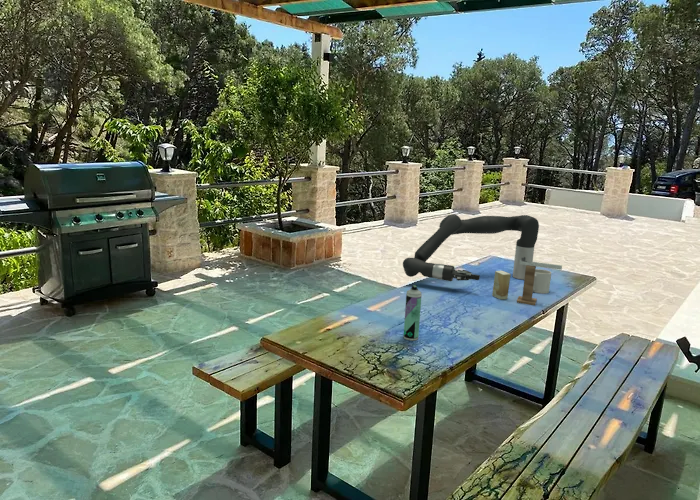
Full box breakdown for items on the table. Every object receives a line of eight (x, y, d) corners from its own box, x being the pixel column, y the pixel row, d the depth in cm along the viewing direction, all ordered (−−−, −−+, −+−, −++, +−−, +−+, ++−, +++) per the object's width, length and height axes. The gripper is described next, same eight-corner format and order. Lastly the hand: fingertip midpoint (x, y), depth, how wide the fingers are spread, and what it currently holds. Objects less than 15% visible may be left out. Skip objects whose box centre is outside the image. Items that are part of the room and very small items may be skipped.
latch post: (518, 297, 254) (522, 262, 250) (536, 300, 251) (541, 265, 247) (516, 302, 247) (520, 266, 243) (534, 305, 244) (539, 268, 240)
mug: (546, 289, 271) (548, 269, 268) (551, 294, 261) (553, 274, 259) (524, 287, 272) (526, 268, 269) (528, 293, 262) (530, 273, 260)
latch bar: (519, 263, 248) (520, 256, 247) (561, 268, 241) (562, 262, 240) (519, 264, 246) (520, 257, 245) (561, 269, 239) (562, 262, 238)
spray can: (408, 333, 203) (412, 282, 199) (421, 337, 200) (425, 285, 196) (400, 337, 199) (404, 285, 195) (413, 341, 196) (416, 288, 191)
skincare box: (491, 295, 255) (494, 270, 252) (499, 295, 257) (501, 270, 254) (500, 300, 250) (503, 274, 247) (508, 299, 251) (511, 273, 249)
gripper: (440, 267, 255) (477, 273, 248) (447, 261, 267) (482, 267, 260) (439, 282, 257) (475, 288, 250) (445, 276, 269) (481, 282, 262)
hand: (479, 277), depth 255 cm, fingers closed
